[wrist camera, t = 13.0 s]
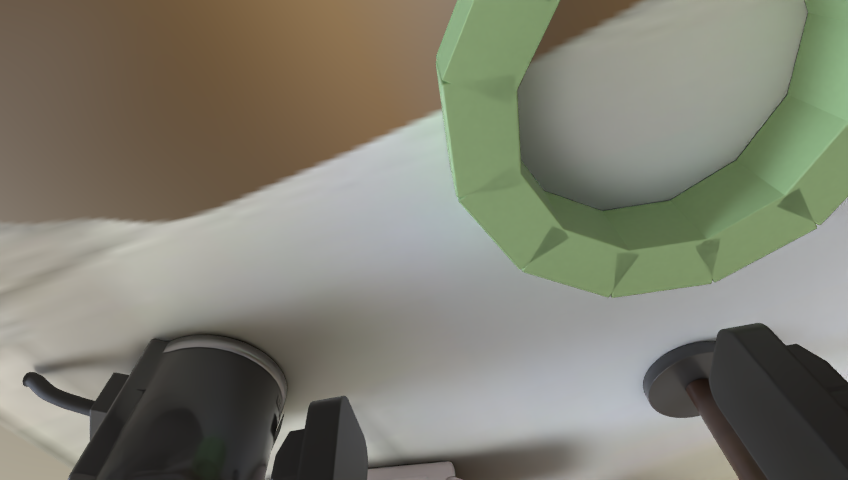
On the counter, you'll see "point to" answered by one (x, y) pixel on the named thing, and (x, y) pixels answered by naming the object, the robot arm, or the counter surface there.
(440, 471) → the mobile phone
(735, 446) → the peg stand
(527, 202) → the ring
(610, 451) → the counter surface
